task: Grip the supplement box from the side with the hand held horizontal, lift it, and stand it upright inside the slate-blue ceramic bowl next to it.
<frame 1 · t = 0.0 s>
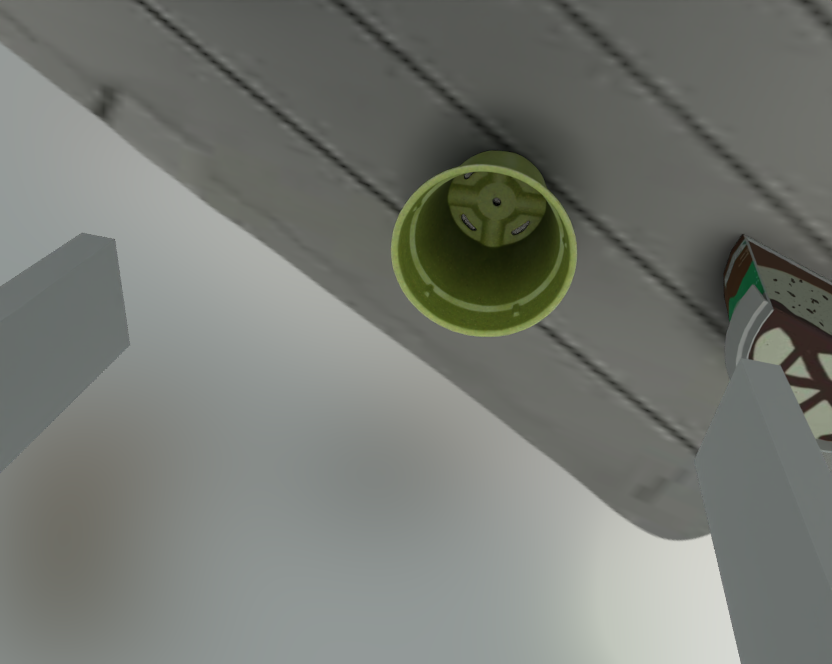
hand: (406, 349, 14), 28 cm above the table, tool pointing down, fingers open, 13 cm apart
food container: (773, 307, 42), on the table
plant pot: (496, 196, 42), on the table
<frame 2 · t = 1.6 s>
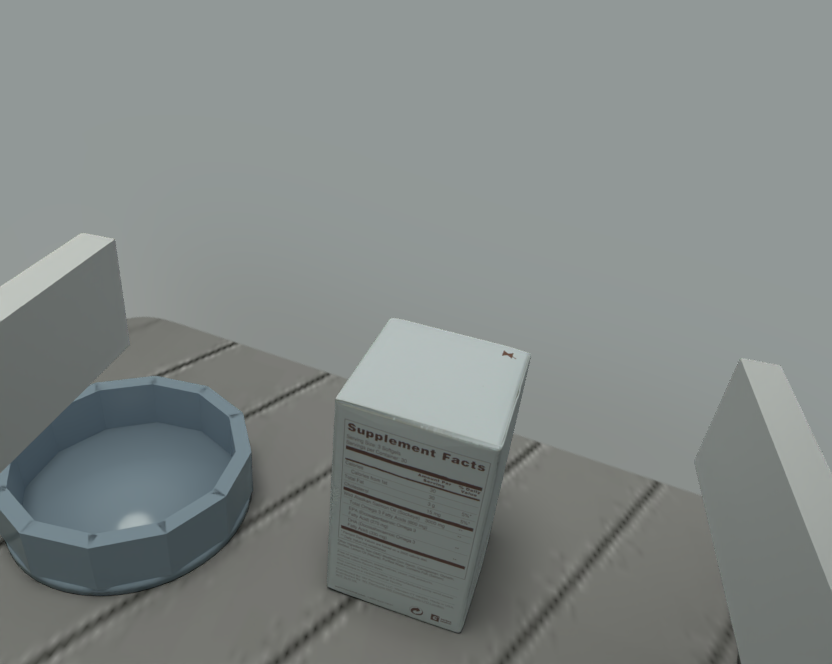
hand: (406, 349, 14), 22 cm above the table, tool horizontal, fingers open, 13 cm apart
bowl: (134, 496, 38), on the table
supplement box: (411, 560, 37), on the table
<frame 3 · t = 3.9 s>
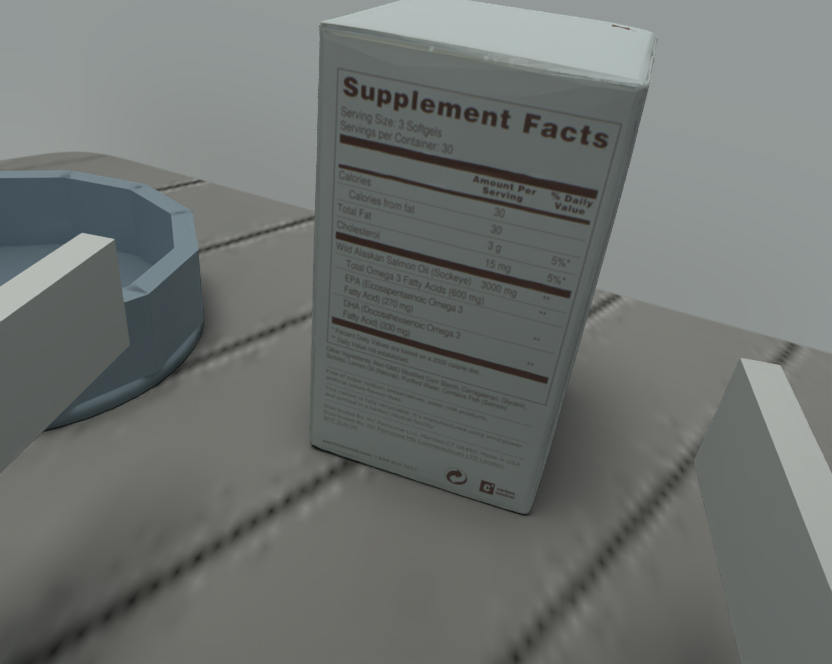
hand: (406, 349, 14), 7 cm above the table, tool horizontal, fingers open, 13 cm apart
bowl: (24, 324, 25), on the table
supplement box: (444, 419, 24), on the table
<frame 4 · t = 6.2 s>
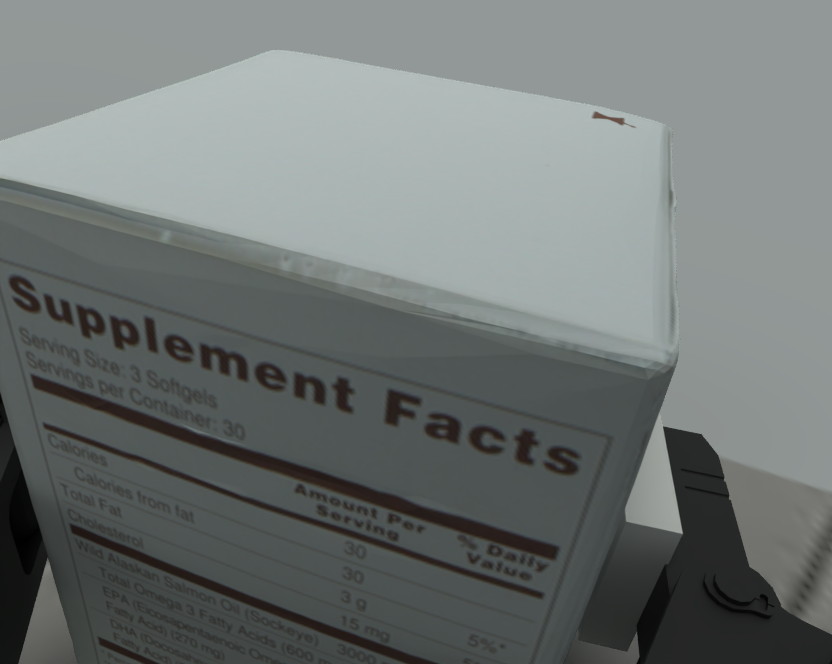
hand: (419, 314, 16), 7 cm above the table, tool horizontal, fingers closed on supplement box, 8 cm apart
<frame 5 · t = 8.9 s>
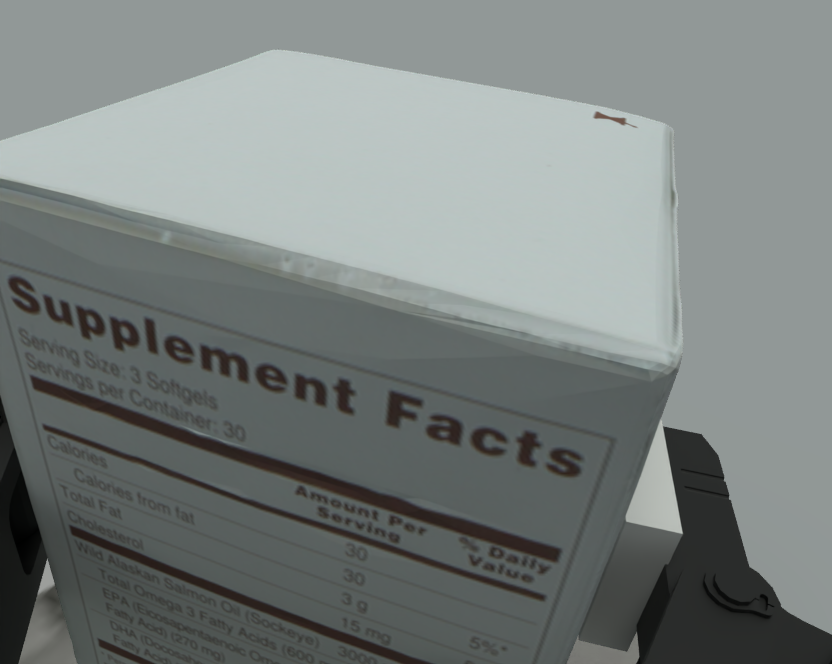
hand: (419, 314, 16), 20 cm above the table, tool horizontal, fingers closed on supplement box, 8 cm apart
when the fingers open (9 cm above the table, at t = 11.5 s): supplement box drops 1 cm, resting on bowl.
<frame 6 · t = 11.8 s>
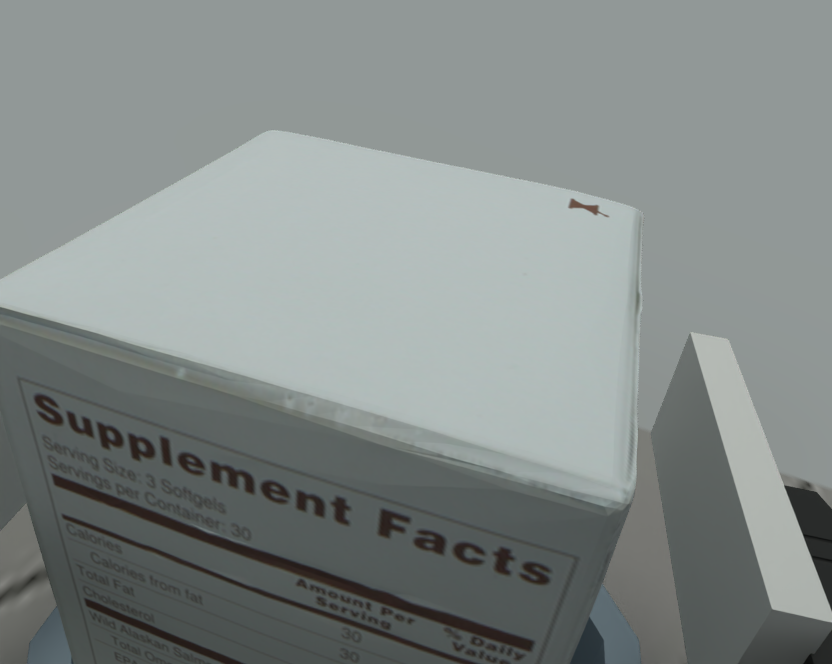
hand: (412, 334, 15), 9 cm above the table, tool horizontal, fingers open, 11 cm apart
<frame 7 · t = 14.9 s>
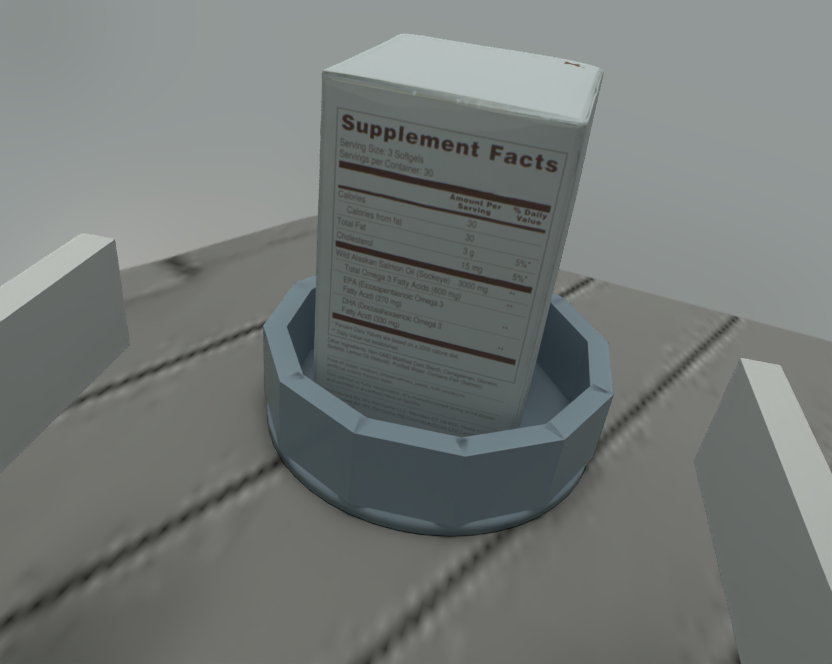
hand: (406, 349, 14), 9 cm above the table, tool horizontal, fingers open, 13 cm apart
bowl: (429, 408, 27), on the table
supplement box: (429, 401, 27), resting on bowl
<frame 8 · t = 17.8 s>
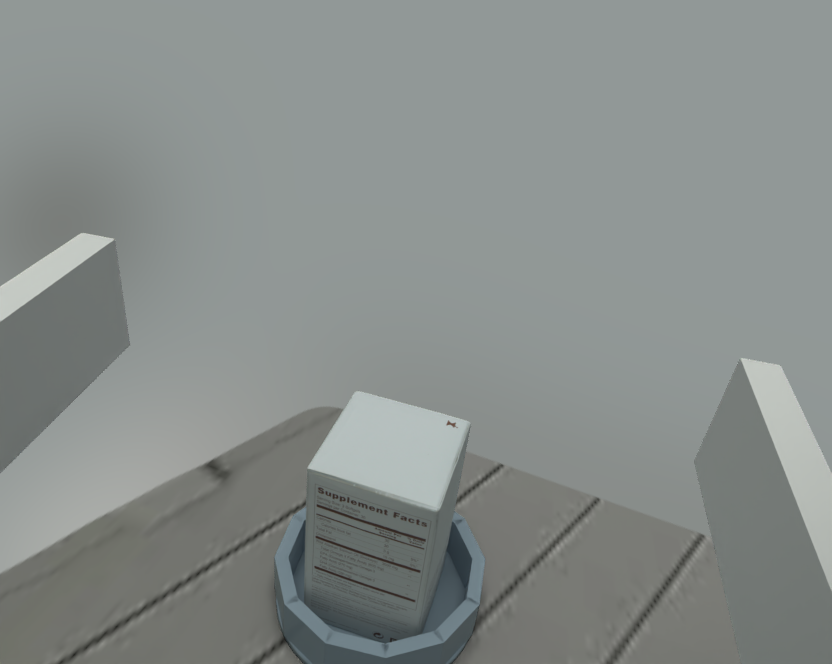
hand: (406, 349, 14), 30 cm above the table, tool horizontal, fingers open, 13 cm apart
bowl: (377, 594, 44), on the table
supplement box: (376, 590, 44), resting on bowl
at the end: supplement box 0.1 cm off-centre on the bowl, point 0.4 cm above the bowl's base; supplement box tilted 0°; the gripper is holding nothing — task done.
